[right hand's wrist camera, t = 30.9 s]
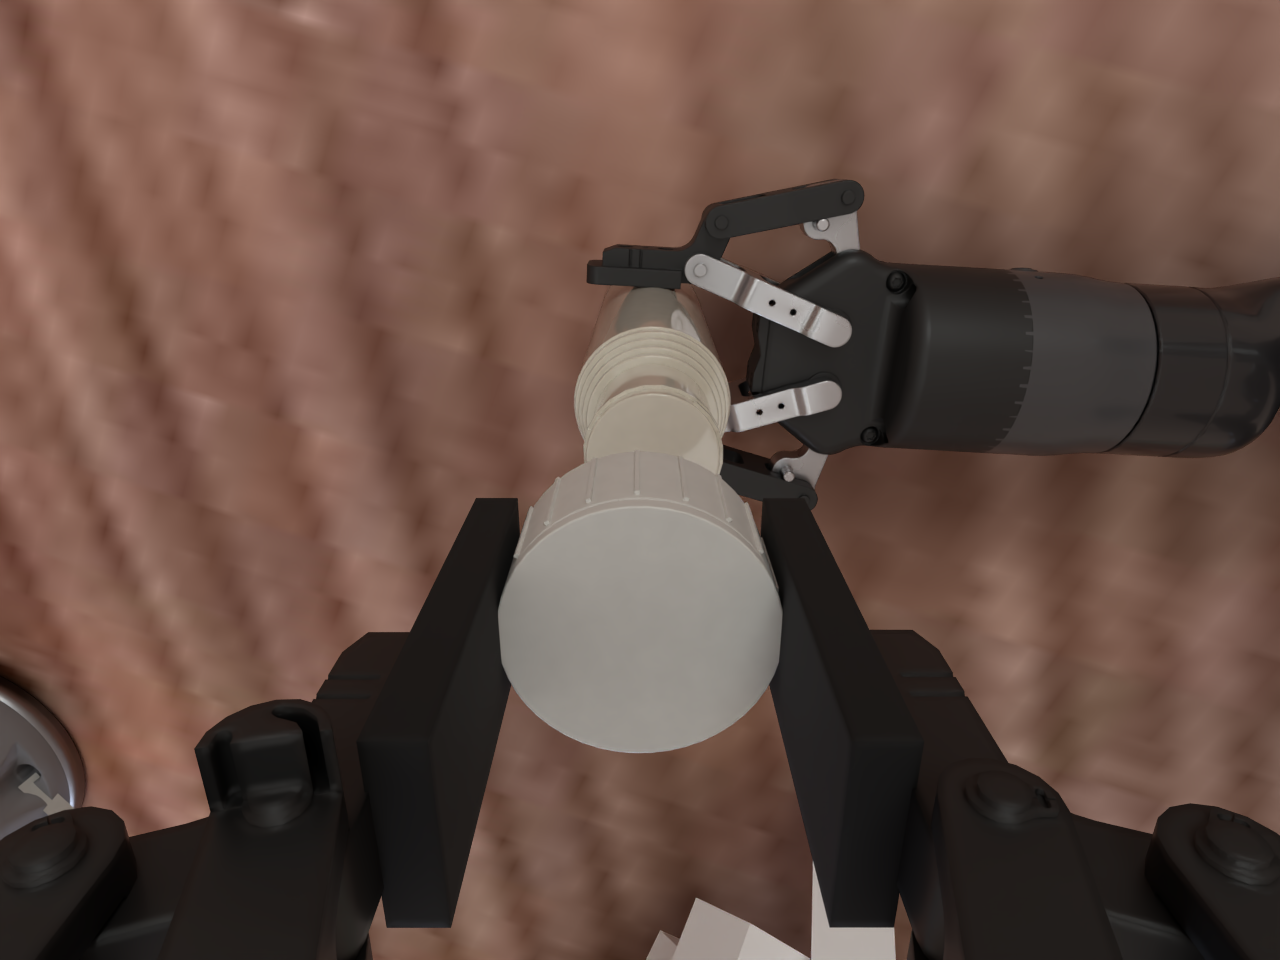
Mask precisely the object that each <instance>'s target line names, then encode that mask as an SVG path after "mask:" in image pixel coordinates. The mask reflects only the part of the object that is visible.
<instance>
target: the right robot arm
mask: <svg viewBox="0 0 1280 960" xmlns="http://www.w3.org/2000/svg"><path fill="white" fill-rule="evenodd" d="M761 537H762V538H763V541H764V544H765V547H766V550H767V553H768V556H769V559H770V562H771V566H772V569H773V572H774V575H775V578H776V581H777V584H778V587H779V590H778V594H779V597H780V601H781V605H782V609H783V615H782V629H781V642H780V655H779V663H778V666H777V669H776V671H775V674H774V676H773V678H772V680H771V682H770V683H769V685H770V689H771V694H772V698H773V702H774V706H775V710H776V714H777V718H778V722H779V726H780V730H781V734H782V738H783V742H784V746H785V750H786V754H787V758H788V762H789V766H790V770H791V774H792V778H793V782H794V786H795V790H796V794H797V798H798V802H799V806H800V810H801V814H802V818H803V822H804V826H805V831H806V835H807V839H808V843H809V847H810V851H811V855H812V859H813V863H814V867H815V871H816V875H817V879H818V883H819V887H820V891H821V895H822V899H823V903H824V907H825V911H826V915H827V919H828V923H829V927H830V928H894V923H895V917H896V911H897V905H898V898H899V893H900V895H901V898H902V901H903V904H904V907H905V909H906V912H907V915H908V918H909V921H910V924H911V926H912V933H911V938H910V944H909V950H908V955H907V960H1280V835H1278V834H1277V833H1276V832H1274V831H1272V830H1270V829H1268V828H1266V827H1265V826H1263V825H1261V824H1259V823H1257V822H1255V821H1254V820H1252V819H1250V818H1248V817H1246V816H1243V815H1240V814H1237V813H1234V812H1231V811H1228V810H1225V809H1222V808H1219V807H1215V806H1207V805H1199V804H1191V803H1190V804H1184V805H1179V806H1174V807H1169V808H1168V809H1167V810H1166V811H1165V812H1164V813H1163V814H1162V815H1161V816H1159V817H1158V819H1157V823H1156V826H1155V829H1154V832H1153V834H1149V833H1145V832H1141V831H1136V830H1132V829H1128V828H1124V827H1119V826H1115V825H1111V824H1107V823H1102V822H1098V821H1094V820H1091V819H1088V818H1085V817H1081V816H1078V815H1075V814H1073V813H1070V811H1069V809H1068V808H1067V806H1066V805H1065V803H1064V801H1063V800H1062V798H1061V797H1060V795H1059V793H1058V792H1056V791H1055V790H1054V789H1053V788H1052V787H1051V786H1049V785H1048V784H1047V783H1046V782H1045V781H1043V780H1042V779H1041V778H1040V777H1038V776H1036V775H1034V774H1032V773H1030V772H1029V771H1027V770H1025V769H1023V768H1021V767H1019V766H1017V765H1014V764H1010V763H1008V761H1007V760H1006V758H1005V757H1004V755H1003V753H1002V752H1001V750H1000V749H999V747H998V745H997V744H996V742H995V740H994V739H993V737H992V736H991V734H990V732H989V731H988V729H987V727H986V726H985V724H984V723H983V721H982V719H981V718H980V716H979V714H978V713H977V711H976V710H975V708H974V706H973V705H972V703H971V701H970V700H969V698H968V697H965V695H964V690H963V688H962V687H961V685H960V684H959V682H958V680H957V679H956V677H953V672H952V671H951V669H950V667H949V666H948V664H947V663H946V661H945V659H944V658H943V656H942V654H941V653H940V651H939V650H938V649H937V648H936V647H934V646H933V645H932V644H930V643H929V642H928V641H926V640H925V639H924V638H923V637H921V636H920V635H919V634H917V633H916V632H915V631H913V630H869V628H868V626H867V624H866V622H865V620H864V618H863V616H862V614H861V612H860V610H859V608H858V606H857V604H856V602H855V600H854V598H853V596H852V594H851V592H850V590H849V588H848V586H847V584H846V582H845V580H844V578H843V575H842V573H841V571H840V569H839V567H838V565H837V563H836V561H835V559H834V557H833V555H832V553H831V551H830V549H829V547H828V545H827V543H826V541H825V539H824V537H823V535H822V533H821V531H820V529H819V527H818V525H817V523H816V521H815V519H814V517H813V515H812V513H811V511H810V509H809V507H808V505H807V502H806V500H805V498H763V505H762V521H761ZM761 537H760V538H761ZM519 538H520V529H519V513H518V498H476V499H475V502H474V504H473V506H472V508H471V510H470V512H469V514H468V516H467V518H466V520H465V522H464V524H463V526H462V528H461V530H460V532H459V534H458V536H457V538H456V540H455V542H454V544H453V546H452V548H451V550H450V552H449V554H448V556H447V558H446V560H445V562H444V564H443V566H442V568H441V570H440V572H439V575H438V577H437V579H436V581H435V583H434V585H433V587H432V589H431V591H430V593H429V595H428V597H427V599H426V601H425V603H424V605H423V607H422V609H421V611H420V613H419V615H418V617H417V619H416V621H415V623H414V625H413V627H412V629H411V631H410V632H368V633H367V634H365V635H364V636H363V637H362V638H360V639H359V640H358V641H356V642H355V643H354V644H352V645H351V646H350V647H348V648H347V649H346V650H344V651H343V652H342V654H341V655H340V657H339V658H338V660H337V662H336V663H335V665H334V667H333V668H332V670H331V671H330V673H329V675H328V680H325V681H324V683H323V685H322V686H321V688H320V689H319V691H318V693H317V697H316V699H313V701H312V703H311V702H308V701H304V700H301V699H292V700H274V701H269V702H265V703H261V704H257V705H252V706H250V707H247V708H245V709H243V710H241V711H239V712H236V713H234V714H232V715H230V716H228V717H226V718H224V719H223V720H222V721H220V722H219V723H218V724H216V725H215V726H214V727H212V728H211V729H210V730H208V731H207V732H206V733H205V735H204V736H203V737H202V739H201V740H200V742H199V743H198V744H197V746H196V747H195V749H194V750H195V754H196V757H197V761H198V765H199V769H200V773H201V777H202V781H203V784H204V788H205V792H206V796H207V800H208V804H209V807H210V811H211V812H210V815H209V817H206V818H203V819H200V820H197V821H193V822H190V823H187V824H183V825H179V826H175V827H170V828H166V829H162V830H158V831H153V832H149V833H145V834H141V835H136V836H132V837H129V836H128V833H127V830H126V827H125V824H124V821H123V820H122V819H121V818H120V817H119V816H118V815H117V814H115V813H114V812H113V811H112V810H107V809H102V808H97V807H84V808H81V806H82V803H83V799H84V794H85V775H84V769H83V765H82V761H81V759H80V756H79V753H78V751H77V749H76V747H75V745H74V743H73V741H72V740H71V738H70V736H69V735H68V733H67V732H66V730H65V729H64V728H63V726H62V725H61V724H60V722H59V721H58V720H57V719H56V718H55V717H54V716H53V715H52V714H51V713H50V712H49V711H48V710H47V709H46V708H45V707H44V706H43V705H42V704H41V703H40V702H38V701H37V700H36V699H35V698H34V697H32V696H31V695H30V694H28V693H27V692H25V691H24V690H23V689H21V688H20V687H18V686H16V685H15V684H13V683H12V682H10V681H8V680H6V679H4V678H2V677H0V960H373V958H372V951H371V944H370V938H369V933H368V932H369V929H370V926H371V923H372V920H373V918H374V915H375V912H376V909H377V906H378V904H379V901H380V898H381V895H382V901H383V908H384V914H385V920H386V926H387V928H451V925H452V921H453V917H454V913H455V909H456V905H457V901H458V897H459V893H460V889H461V885H462V881H463V877H464V873H465V869H466V865H467V861H468V857H469V853H470V849H471V845H472V841H473V837H474V832H475V828H476V824H477V820H478V816H479V812H480V808H481V804H482V800H483V796H484V792H485V788H486V784H487V780H488V776H489V772H490V768H491V764H492V760H493V756H494V752H495V748H496V744H497V740H498V736H499V732H500V728H501V724H502V720H503V716H504V712H505V708H506V704H507V699H508V695H509V691H510V687H511V683H510V681H509V679H508V677H507V675H506V672H505V670H504V667H503V665H502V660H501V648H500V635H499V622H498V607H499V603H500V598H501V595H502V592H503V589H504V586H505V583H506V580H507V577H508V573H509V570H510V567H511V564H512V561H513V558H514V557H513V556H514V553H515V550H516V547H517V544H518V541H519Z"/></svg>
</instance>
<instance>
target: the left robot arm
mask: <svg viewBox="0 0 1280 960" xmlns="http://www.w3.org/2000/svg"><path fill="white" fill-rule="evenodd" d="M863 201H864V191H863V188H862V187H861V185H860V184H859V183H857V182H856V181H853V180H842V179H831V180H826V181H821V182H816V183H811V184H806V185H801V186H797V187H792V188H787V189H782V190H777V191H772V192H767V193H762V194H757V195H752V196H747V197H742V198H737V199H732V200H727V201H722V202H717V203H713V204H710V205H709V206H707V207H706V208H705V210H704V211H703V213H702V218H701V221H700V223H699V225H698V228H697V230H696V232H695V234H694V236H693V238H692V240H691V241H690V242H689V243H688V244H686V245H685V246H682V247H678V248H671V247H654V246H637V245H621V244H617V245H614V246H611V247H608V248H605V249H604V251H603V260H590V261H589V262H588V264H587V283H590V284H598V285H615V286H632V287H653V288H666V289H681V283H685V284H693V285H695V286H698V287H700V288H702V289H705V290H707V291H709V292H711V293H714V294H716V295H718V296H721V297H723V298H725V299H727V300H730V301H732V302H734V303H735V304H737V305H739V306H741V307H743V308H745V309H747V310H749V311H751V312H753V320H752V330H753V336H754V343H755V344H754V348H753V350H752V353H751V356H750V358H749V361H748V366H747V375H746V378H742V379H739V380H735V381H732V382H728V384H729V389H730V399H731V406H730V415H729V419H728V423H727V427H726V429H725V432H728V431H733V432H742V431H746V430H750V429H753V428H757V427H761V426H764V425H768V424H771V423H775V422H777V423H779V424H780V425H781V426H782V427H784V428H785V429H786V430H787V431H788V432H790V433H791V434H792V435H793V436H795V437H796V438H797V439H798V440H799V441H801V442H802V443H803V444H804V445H803V446H802V447H801V448H800V449H798V450H796V451H780V452H777V453H775V454H774V455H773V456H772V458H771V459H768V458H765V457H762V456H758V455H755V454H752V453H748V452H745V451H742V450H738V449H735V448H732V447H728V446H725V445H723V464H722V468H721V471H720V474H719V475H721V477H722V480H724V481H725V482H726V483H727V484H728V485H729V486H730V487H731V488H732V489H733V490H734V491H735V492H736V493H737V494H738V495H742V496H745V497H748V498H752V499H755V500H759V501H762V502H763V498H805V500H806V502H807V505H808V507H809V509H810V510H812V509H813V508H814V507H815V506H816V504H817V499H818V498H817V494H816V492H815V489H814V488H815V485H816V483H817V480H818V478H819V475H820V473H821V471H822V468H823V466H824V464H825V461H826V459H827V457H828V455H831V454H836V453H838V452H841V451H843V450H845V449H848V448H851V447H855V446H861V445H866V446H875V447H887V448H907V449H925V450H943V451H959V452H978V453H996V454H1014V455H1033V456H1047V455H1061V454H1072V453H1103V454H1121V455H1139V456H1158V457H1159V456H1162V457H1176V458H1204V457H1215V456H1221V455H1225V454H1229V453H1232V452H1234V451H1237V450H1239V449H1241V448H1243V447H1245V446H1246V445H1248V444H1250V443H1251V442H1253V441H1254V440H1255V439H1256V438H1258V437H1259V436H1260V435H1261V434H1262V433H1263V432H1264V430H1265V429H1266V428H1267V427H1268V426H1269V424H1270V423H1271V422H1272V420H1273V418H1274V416H1275V414H1276V413H1277V411H1278V409H1279V407H1280V277H1276V278H1270V279H1265V280H1259V281H1253V282H1248V283H1242V284H1236V285H1230V286H1224V287H1216V288H1195V287H1184V286H1167V285H1149V284H1132V283H1117V282H1109V281H1104V280H1098V279H1094V278H1089V277H1085V276H1079V275H1074V274H1065V273H1052V272H1038V271H1037V270H1032V269H1030V268H1013V269H1010V270H1003V269H986V268H968V267H951V266H934V265H917V264H900V263H887V262H882V261H879V260H877V259H875V258H874V257H873V256H871V255H870V254H868V253H867V252H865V251H862V250H860V244H859V233H858V221H857V210H858V209H859V208H860V207H861V205H862V203H863ZM797 224H800V228H801V231H802V232H803V233H804V234H805V235H806V236H808V237H810V238H812V239H816V240H821V239H823V240H826V241H827V242H828V243H829V244H830V246H831V249H832V251H831V252H830V253H828V254H826V255H825V256H823V257H822V258H820V259H819V260H817V261H815V262H814V263H812V264H811V265H809V266H807V267H806V268H804V269H803V270H801V271H799V272H798V273H796V274H795V275H793V276H791V277H790V278H788V279H787V280H785V281H783V282H782V283H780V282H778V281H775V280H773V279H771V278H769V277H766V276H764V275H762V274H760V273H757V272H755V271H753V270H751V269H748V268H746V267H743V266H740V265H738V264H735V263H733V262H731V261H728V260H726V259H724V258H722V255H723V253H724V250H725V248H726V246H727V244H728V242H729V239H730V238H731V237H736V236H741V235H746V234H751V233H756V232H761V231H766V230H771V229H777V228H782V227H787V226H792V225H797ZM749 391H750V393H748V392H749ZM759 409H761V410H760V411H759V412H757V410H759Z"/></svg>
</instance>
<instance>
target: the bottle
mask: <svg viewBox="0 0 1280 960" xmlns="http://www.w3.org/2000/svg"><path fill="white" fill-rule="evenodd" d="M730 406H731V399H730V389H729V384H728V381H727V378H726V375H725V372H724V369H723V367H722V364H721V361H720V358H719V356H718V353H717V350H716V347H715V345H714V342H713V339H712V336H711V334H710V331H709V328H708V325H707V323H706V320H705V317H704V315H703V312H702V309H701V306H700V304H699V301H698V298H697V295H696V293H695V291H694V289H693V288H692V286H691V285H690V284H685V283H681V289H666V288H653V287H632V286H615V285H611V286H610V288H609V289H608V291H607V293H606V295H605V297H604V300H603V304H602V307H601V310H600V313H599V316H598V319H597V322H596V325H595V328H594V331H593V334H592V337H591V340H590V343H589V346H588V349H587V352H586V355H585V358H584V361H583V364H582V367H581V370H580V373H579V376H578V380H577V383H576V387H575V393H574V411H575V417H576V421H577V425H578V428H579V431H580V433H581V436H582V438H583V440H584V446H583V448H584V463H587V462H589V461H592V458H595V457H597V458H600V457H604V456H608V455H611V454H617V453H624V452H635V450H640V452H644V451H648V452H656V453H665V454H669V455H673V456H677V457H678V456H683V458H684V459H686V460H689V461H691V462H694V463H697V464H698V465H700V466H702V467H704V468H706V469H708V470H710V471H711V472H713V473H714V474H715V475H717V474H720V471H721V468H722V464H723V444H722V440H721V439H722V437H723V435H724V432H725V429H726V427H727V423H728V419H729V415H730Z"/></svg>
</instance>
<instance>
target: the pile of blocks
mask: <svg viewBox="0 0 1280 960" xmlns="http://www.w3.org/2000/svg"><path fill="white" fill-rule="evenodd" d="M646 960H810V958H808V957H807V956H805V955H803V954H802V953H800V952H798V951H797V950H795V949H793V948H791V947H790V946H788V945H786V944H785V943H783V942H781V941H780V940H778V939H776V938H775V937H773V936H771V935H769V934H768V933H766V932H764V931H763V930H761V929H759V928H758V927H756V926H754V925H752V924H751V923H749V922H747V921H745V920H742V919H740V918H738V917H736V916H734V915H732V914H730V913H728V912H726V911H723V910H721V909H719V908H717V907H715V906H713V905H711V904H709V903H707V902H704V901H702V900H700V899H698V898H696V899H695V902H694V904H693V907H692V909H691V912H690V915H689V917H688V920H687V922H686V925H685V927H684V930H683V932H682V935H681V938H680V939H679V938H677V937H675V936H673V935H671V934H668V933H666V932H664V931H662V930H660V932H659V934H658V936H657V938H656V940H655V942H654V944H653V946H652V948H651V950H650V952H649V954H648V956H647V958H646ZM811 960H896V955H895V936H894V928H830V927H829V923H828V919H827V915H826V911H825V907H824V903H823V899H822V895H821V891H820V887H819V883H818V879H817V875H816V871H815V867H814V863H813V885H812V941H811Z"/></svg>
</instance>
